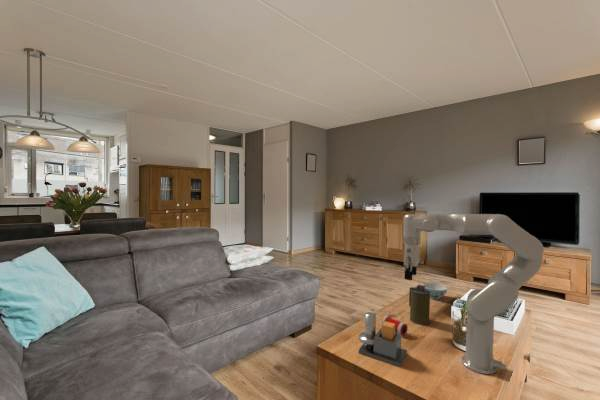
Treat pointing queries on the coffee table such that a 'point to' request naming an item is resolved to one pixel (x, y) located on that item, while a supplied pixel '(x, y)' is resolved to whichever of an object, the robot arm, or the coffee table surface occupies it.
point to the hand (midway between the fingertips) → (410, 277)
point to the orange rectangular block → (388, 330)
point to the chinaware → (435, 290)
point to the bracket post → (380, 343)
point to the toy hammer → (396, 325)
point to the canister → (419, 305)
